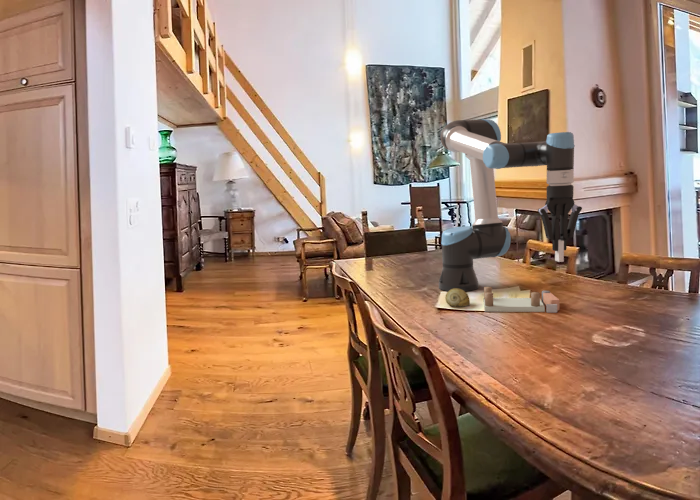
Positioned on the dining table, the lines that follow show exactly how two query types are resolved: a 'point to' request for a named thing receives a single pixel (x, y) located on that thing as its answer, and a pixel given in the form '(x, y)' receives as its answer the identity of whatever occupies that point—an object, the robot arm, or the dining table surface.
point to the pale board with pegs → (515, 303)
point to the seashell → (457, 297)
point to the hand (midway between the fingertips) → (559, 260)
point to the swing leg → (549, 298)
